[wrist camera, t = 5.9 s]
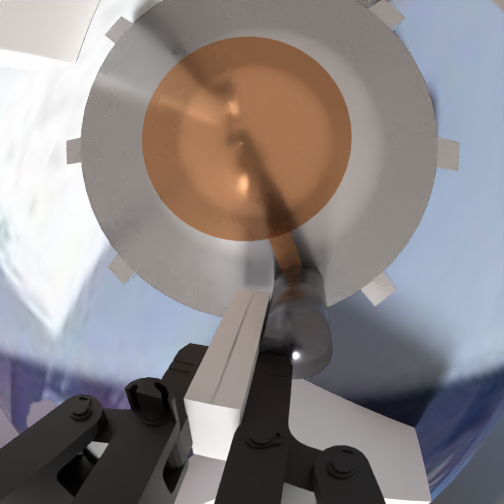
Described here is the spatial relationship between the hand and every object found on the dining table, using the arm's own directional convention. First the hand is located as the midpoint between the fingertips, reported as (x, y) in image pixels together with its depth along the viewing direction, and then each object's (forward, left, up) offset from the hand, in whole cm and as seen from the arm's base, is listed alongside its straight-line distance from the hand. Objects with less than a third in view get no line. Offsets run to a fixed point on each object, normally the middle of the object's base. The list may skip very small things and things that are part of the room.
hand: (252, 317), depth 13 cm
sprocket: (-8, -1, -4) cm, 9 cm away
